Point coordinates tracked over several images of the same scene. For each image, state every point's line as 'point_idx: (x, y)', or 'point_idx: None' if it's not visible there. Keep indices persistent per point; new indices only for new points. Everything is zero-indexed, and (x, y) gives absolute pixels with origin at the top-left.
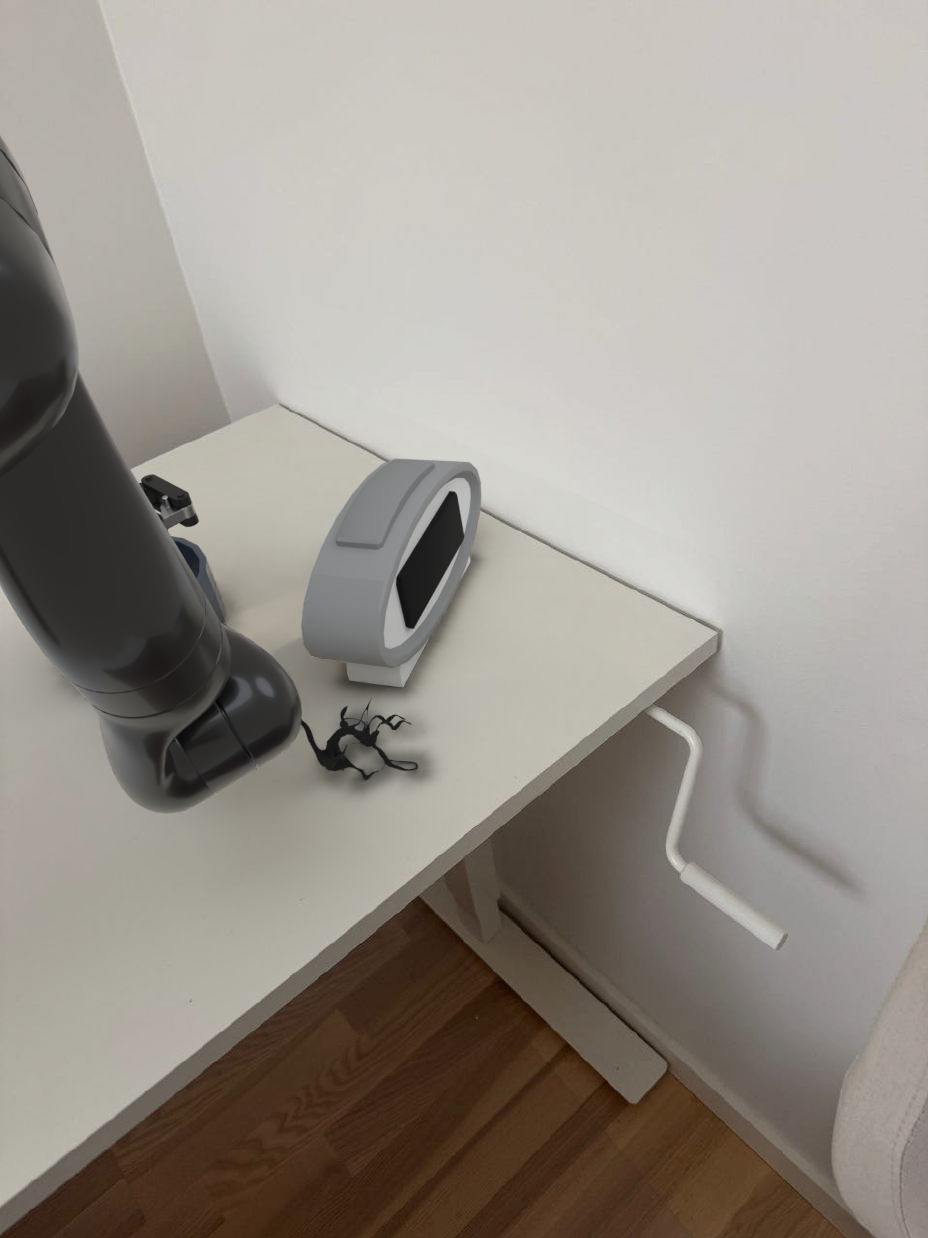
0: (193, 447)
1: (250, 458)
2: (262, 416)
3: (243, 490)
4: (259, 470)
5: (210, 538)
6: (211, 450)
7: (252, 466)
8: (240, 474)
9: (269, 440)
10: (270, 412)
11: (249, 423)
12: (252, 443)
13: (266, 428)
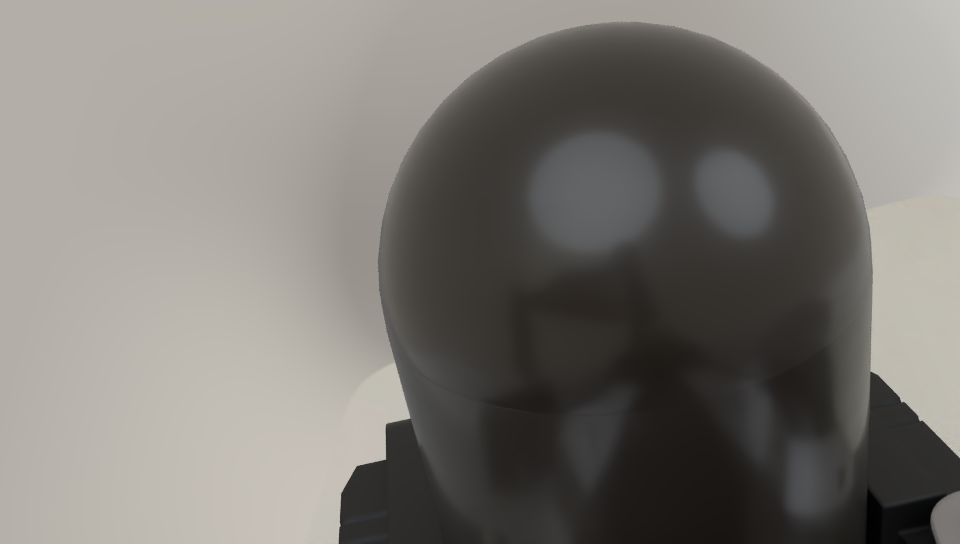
0: None
1: (915, 296)
2: (906, 203)
3: (930, 386)
4: (957, 334)
5: None
6: None
7: (930, 319)
8: (902, 336)
9: (950, 259)
10: (923, 197)
11: (878, 214)
12: (905, 260)
13: (929, 230)
